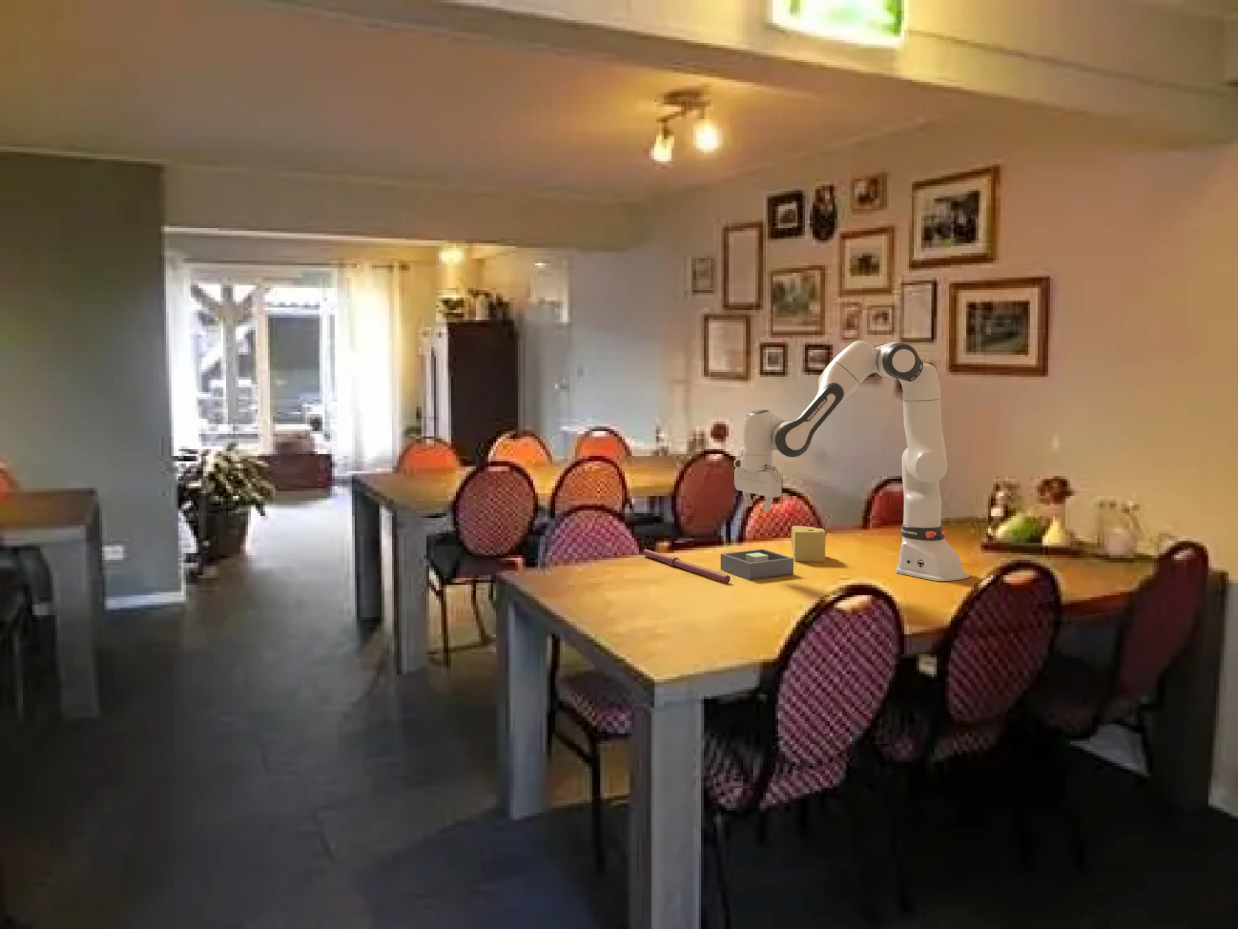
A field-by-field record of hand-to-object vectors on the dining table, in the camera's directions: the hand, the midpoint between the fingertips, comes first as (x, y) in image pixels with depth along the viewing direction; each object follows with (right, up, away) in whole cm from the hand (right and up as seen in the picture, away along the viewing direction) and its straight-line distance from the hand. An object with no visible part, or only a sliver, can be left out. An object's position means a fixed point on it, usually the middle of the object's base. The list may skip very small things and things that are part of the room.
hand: (757, 508), depth 307 cm
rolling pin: (-22, -20, +7) cm, 31 cm away
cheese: (+19, -18, +21) cm, 34 cm away
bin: (0, -20, +2) cm, 20 cm away
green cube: (0, -19, +2) cm, 20 cm away
